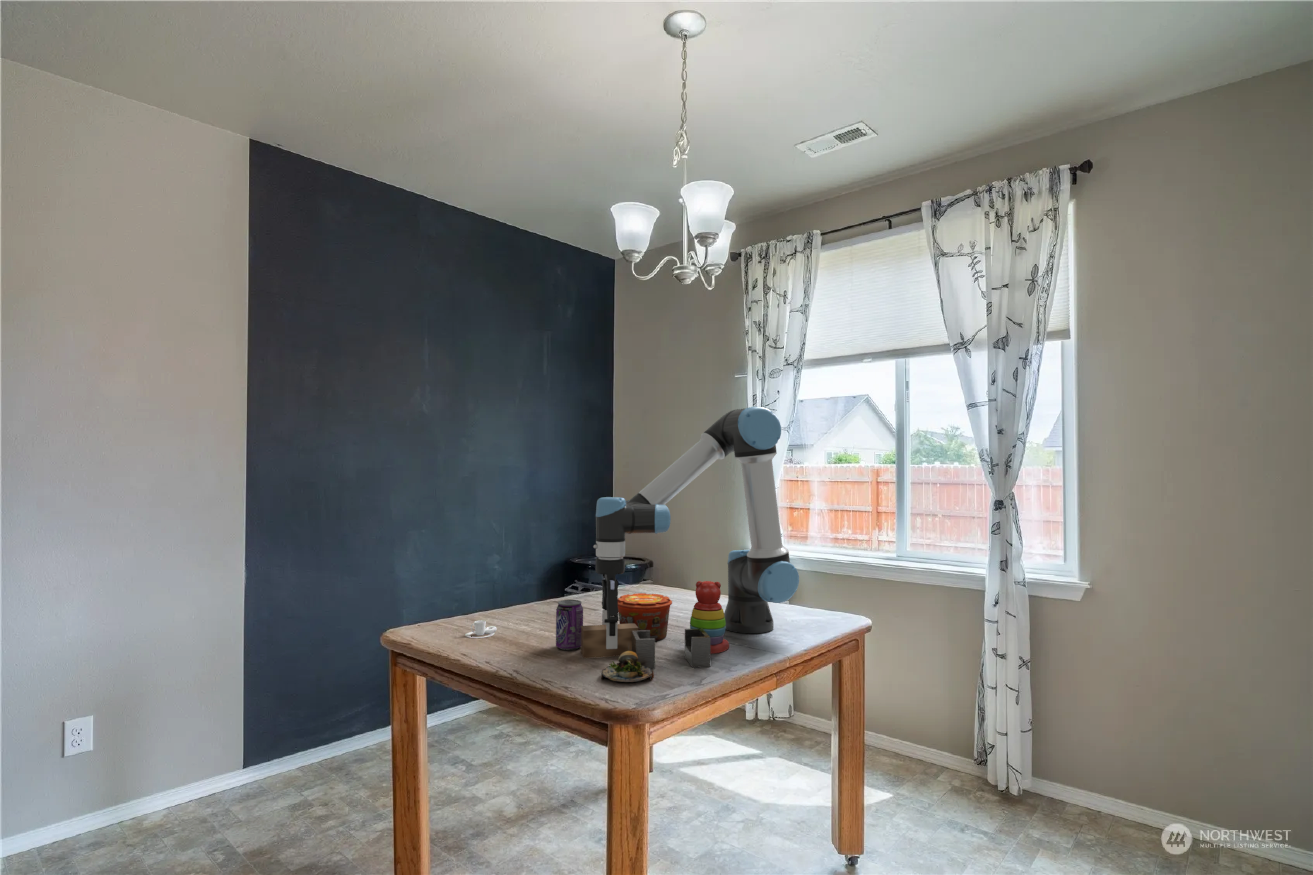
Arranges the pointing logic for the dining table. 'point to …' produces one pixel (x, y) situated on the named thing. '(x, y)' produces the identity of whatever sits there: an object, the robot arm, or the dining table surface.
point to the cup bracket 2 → (697, 647)
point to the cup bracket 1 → (644, 647)
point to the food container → (646, 612)
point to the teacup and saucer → (481, 629)
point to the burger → (627, 669)
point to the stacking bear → (710, 615)
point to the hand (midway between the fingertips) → (609, 641)
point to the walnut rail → (596, 640)
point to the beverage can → (569, 624)
